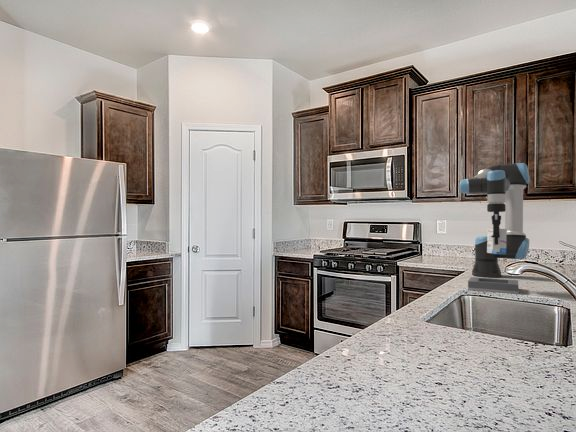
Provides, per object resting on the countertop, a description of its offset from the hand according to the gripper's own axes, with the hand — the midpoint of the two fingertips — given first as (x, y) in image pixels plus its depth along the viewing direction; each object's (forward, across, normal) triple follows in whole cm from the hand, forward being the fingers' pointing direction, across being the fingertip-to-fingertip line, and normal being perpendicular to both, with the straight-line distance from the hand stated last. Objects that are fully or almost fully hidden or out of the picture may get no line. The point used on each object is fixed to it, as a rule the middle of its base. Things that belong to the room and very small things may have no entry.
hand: (496, 251), depth 176 cm
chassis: (+18, +1, -2) cm, 18 cm away
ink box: (+1, 0, 0) cm, 1 cm away
